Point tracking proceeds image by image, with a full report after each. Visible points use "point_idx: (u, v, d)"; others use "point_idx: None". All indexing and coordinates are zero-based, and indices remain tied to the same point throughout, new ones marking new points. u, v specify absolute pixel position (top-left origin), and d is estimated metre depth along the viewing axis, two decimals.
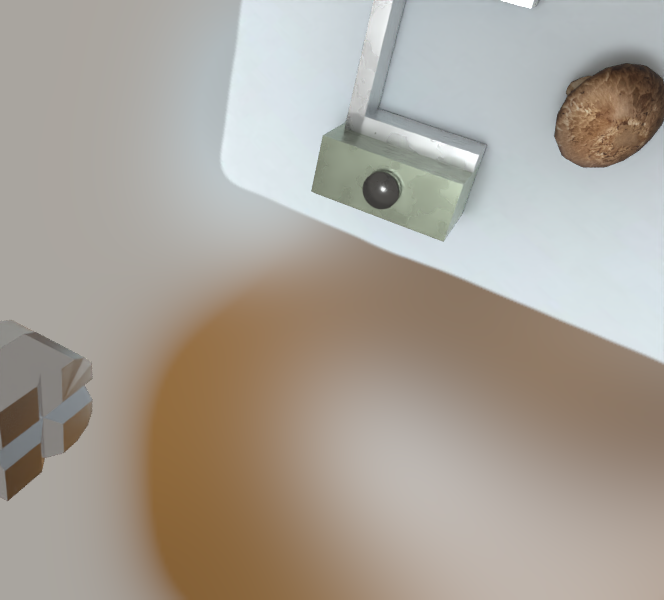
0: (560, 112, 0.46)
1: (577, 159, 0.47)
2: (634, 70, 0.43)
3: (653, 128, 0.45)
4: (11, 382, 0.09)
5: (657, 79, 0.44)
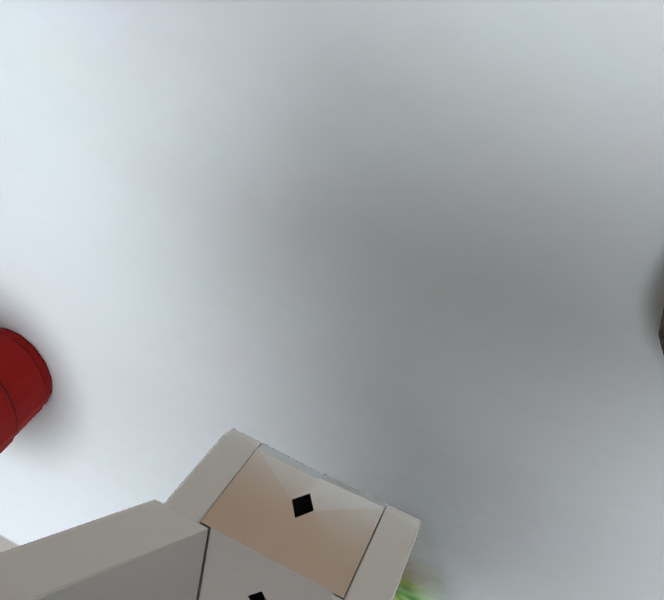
0: None
1: None
2: None
3: None
4: (267, 514, 0.08)
5: None
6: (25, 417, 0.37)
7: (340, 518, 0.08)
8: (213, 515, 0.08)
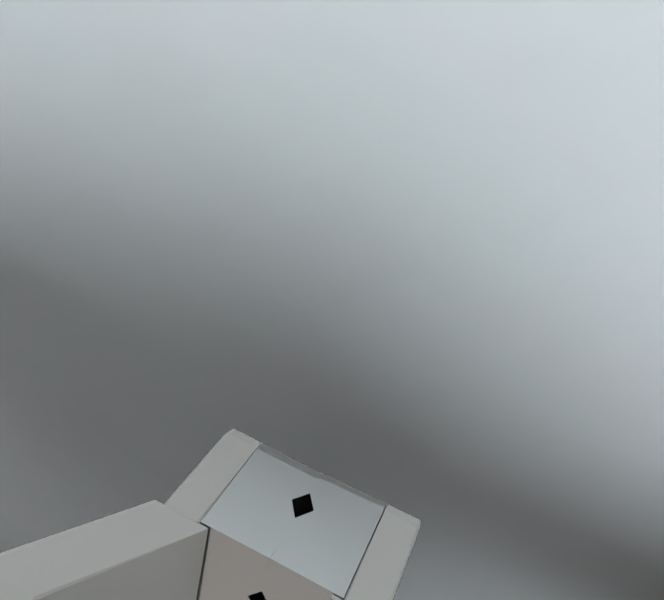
0: None
1: None
2: None
3: None
4: (267, 514, 0.08)
5: None
6: None
7: (340, 518, 0.08)
8: (213, 515, 0.08)
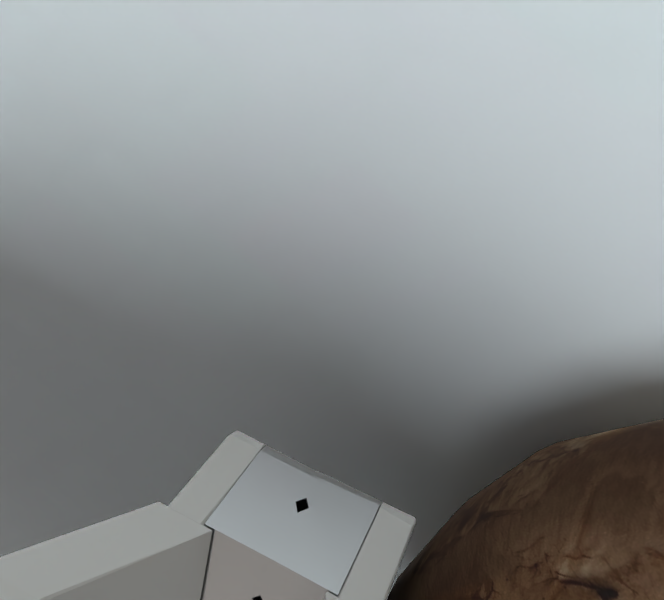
0: None
1: None
2: None
3: None
4: (271, 516, 0.08)
5: None
6: None
7: (335, 516, 0.08)
8: (217, 517, 0.08)
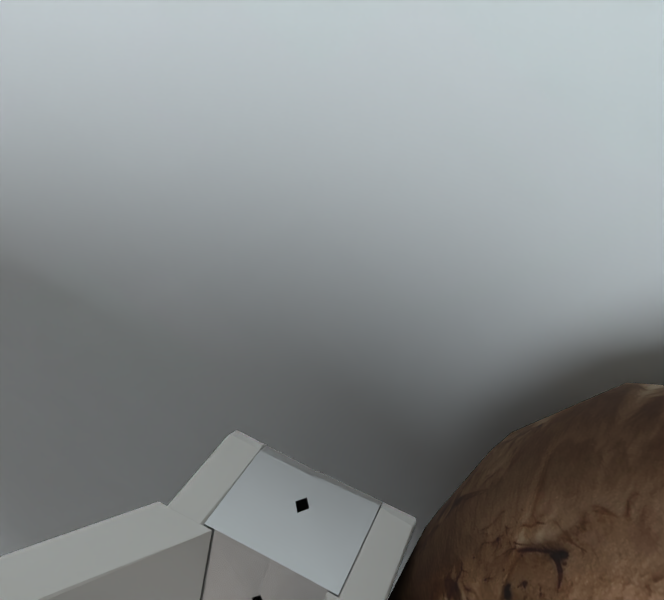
0: None
1: None
2: None
3: None
4: (271, 516, 0.08)
5: None
6: None
7: (335, 516, 0.08)
8: (216, 517, 0.08)
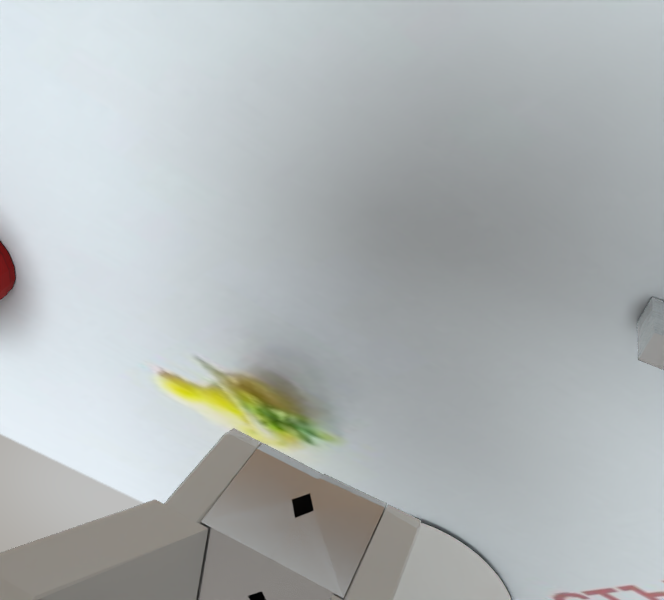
0: None
1: None
2: None
3: None
4: (268, 514, 0.08)
5: None
6: None
7: (340, 518, 0.08)
8: (213, 515, 0.08)
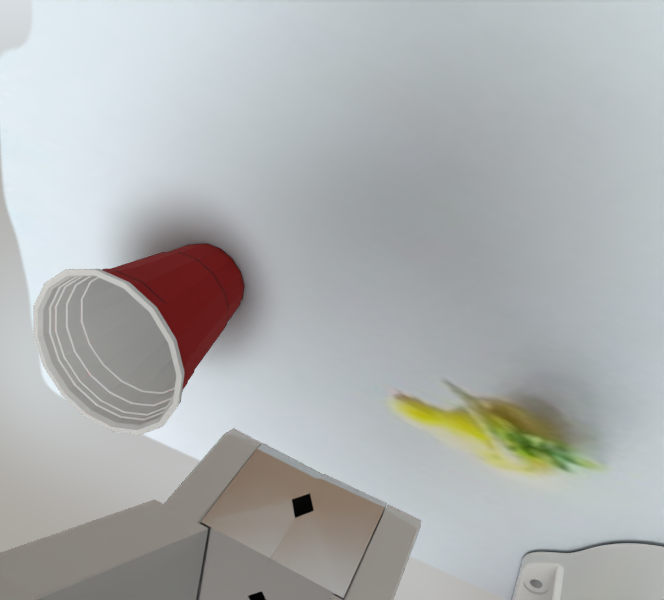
0: None
1: None
2: None
3: None
4: (267, 514, 0.08)
5: None
6: (230, 316, 0.44)
7: (340, 518, 0.08)
8: (213, 515, 0.08)
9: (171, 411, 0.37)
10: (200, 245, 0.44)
